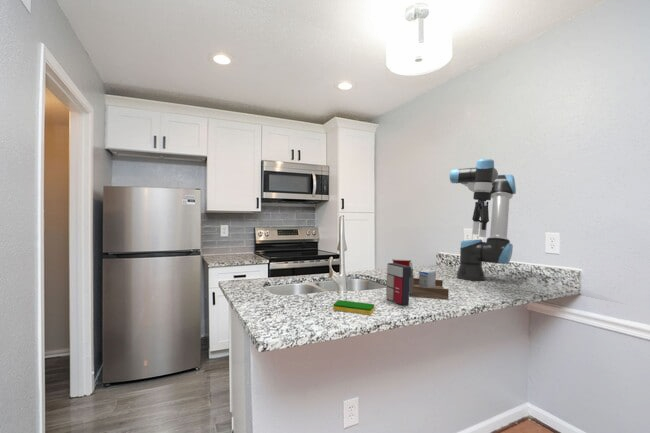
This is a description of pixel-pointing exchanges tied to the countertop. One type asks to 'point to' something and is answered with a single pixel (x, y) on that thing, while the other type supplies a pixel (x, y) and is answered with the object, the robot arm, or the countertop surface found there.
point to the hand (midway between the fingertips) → (478, 235)
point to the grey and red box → (398, 283)
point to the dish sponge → (353, 307)
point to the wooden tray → (426, 288)
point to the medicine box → (427, 278)
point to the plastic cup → (402, 261)
